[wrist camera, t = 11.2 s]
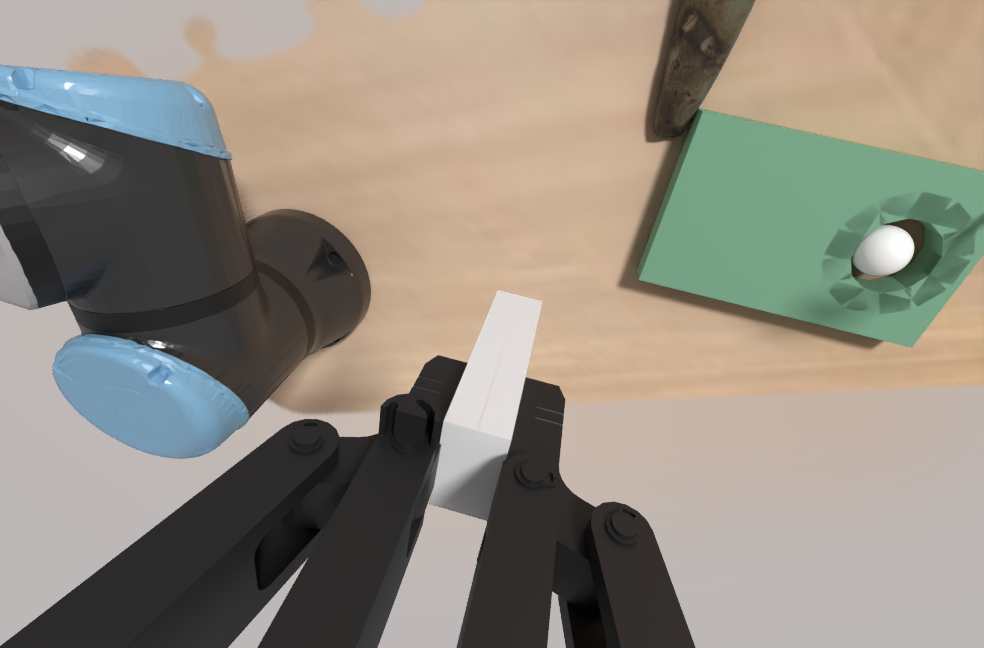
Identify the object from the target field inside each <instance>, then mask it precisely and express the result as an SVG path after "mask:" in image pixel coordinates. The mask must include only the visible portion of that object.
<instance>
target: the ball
mask: <svg viewBox="0 0 984 648" xmlns="http://www.w3.org/2000/svg"><path fill="white" fill-rule="evenodd" d="M913 254H914V242H913V240H912V238H911V236H910V235H909V234H908V233H907V232H906V231H905V230H903V229H901V228H899V227H896V226H892V225H882V226H880V227H879V228H877V229H876V230H874V231H873V232H871V233H870V234H868V235H867V236H866V237H864V238H863V239H862V240H861V242H860V244H859V245H858V247H857V248H856V250H855V252H854V253H853V255H852V256H851V261H852V263H853V264H854V266H855V267H856V268H857V269H858V270H860V271H861V272H863V273H866V274H869V275H874V276H884V275H889V274H893V273H895V272H897V271H899V270H901V269H902V268H904V267H905V266H906V265H907V264H908V263H909V262H910V260H911V258H912V257H913Z"/></svg>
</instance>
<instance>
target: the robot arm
mask: <svg viewBox="0 0 984 648" xmlns="http://www.w3.org/2000/svg"><path fill="white" fill-rule="evenodd" d="M230 160H232V156H231V153H230V152H228V151H227V149H226V146H225V143H224V140H223V137H222V134H221V131H220V127H219V124H218V121H217V117H216V114H215V111H214V108H213V106H212V104H211V103H210V101H209V100H208V98H207V97H206V96H205V95H204V94H203V93H202V92H201V91H199V90H198V89H196V88H195V87H193V86H191V85H189V84H186V83H184V82H179V81H171V80H161V79H151V78H141V77H130V76H120V75H108V74H97V73H87V72H77V71H66V70H65V71H64V70H55V69H44V68H32V67H20V66H9V65H0V301H4V302H6V303H10V304H13V305H16V306H19V307H22V308H25V309H28V310H33V309H38V308H42V307H45V306H49V305H52V304H56V303H60V302H63V301H67V302H68V304H69V306H70V308H71V310H72V312H73V314H74V316H75V318H76V321H77V323H78V325H79V327H80V329H81V332H82V334H81V335H78V336H76V337H74V338H71V339H70V340H68V341H67V342H65V344H64V346H63V348H62V349H61V350H59V351H58V352H57V354H56V357H55V362H54V364H53V374H54V378H55V381H56V383H57V385H58V387H59V389H60V391H61V392H62V394H63V395H64V397H65V398H66V399H67V400H68V402H69V403H70V404H71V405H72V406H73V407H74V408H75V409H76V410H77V411H78V412H79V413H80V414H81V415H82V416H83V417H84V418H86V419H87V420H88V421H89V422H90V423H92V424H93V425H94V426H96V427H97V428H98V429H100V430H101V431H103V432H104V433H106V434H108V435H109V436H111V437H113V438H115V439H116V440H118V441H120V442H122V443H124V444H126V445H128V446H130V447H132V448H135V449H137V450H140V451H143V452H146V453H149V454H153V455H157V456H162V457H168V458H179V459H180V458H181V459H183V458H193V457H198V456H202V455H204V454H207V453H209V452H211V451H212V450H214V449H216V448H217V447H218V446H220V445H221V444H222V443H223V442H224V441H225V440H226V439H227V438H228V437H229V436H230V435H231V434H232V433H234V432H235V431H236V430H238V429H240V428H241V427H242V426H244V425H245V424H246V423H247V421H248V420H249V419H250V417H251V416H252V415H253V414H254V413H255V412H256V411H257V410H258V409H259V408H260V406H261V405H262V404H263V403H264V402H265V401H266V400H267V399H268V398H269V397H270V395H271V394H272V393H273V392H274V391H275V390H276V389H277V388H278V387H279V386H280V384H281V383H282V382H283V381H284V380H285V379H286V378H287V377H288V376H289V374H290V373H291V372H292V371H293V370H294V369H295V368H296V367H297V366H298V365H299V363H300V362H301V361H302V360H303V359H304V358H305V357H306V356H308V355H310V354H312V353H315V352H317V351H318V350H320V349H321V348H325V347H329V346H331V345H334V344H336V343H338V342H340V341H342V340H343V339H345V338H346V337H347V336H349V335H350V334H351V333H352V332H353V331H354V329H355V328H356V327H357V326H358V325H359V324H360V322H361V321H362V320H363V318H364V317H365V315H366V313H367V310H368V307H369V303H370V296H371V288H370V280H369V276H368V272H367V270H366V267H365V264H364V262H363V260H362V258H361V256H360V255H359V253H358V251H357V250H356V249H355V247H354V246H353V245H352V243H351V242H350V241H349V240H348V239H347V238H346V237H345V236H344V235H343V234H342V233H341V232H340V231H339V230H338V229H337V228H335V227H334V226H333V225H331V224H330V223H328V222H327V221H325V220H323V219H321V218H319V217H317V216H315V215H313V214H310V213H307V212H303V211H299V210H292V209H280V210H274V211H270V212H267V213H265V214H262V215H260V216H258V217H256V218H254V219H252V220H251V221H249V222H247V223H246V224H245V220H244V216H243V212H242V208H241V203H240V199H239V195H238V191H237V187H236V183H235V179H234V174H233V170H232V166H231V162H230ZM541 306H542V301H539V300H535V299H531V298H527V297H523V296H519V295H515V294H511V293H507V292H503V291H500V290H498V292H497V294H496V296H495V299H494V301H493V304H492V306H491V308H490V311H489V313H488V316H487V318H486V320H485V323H484V325H483V328H482V330H481V332H480V335H479V337H478V340H477V342H476V344H475V347H474V349H473V352H472V354H471V356H470V359H469V361H468V363H465V362H462V361H458V360H454V359H450V358H447V357H443V356H439V355H438V356H436V357H435V358H433V359H432V360H430V361H429V362H427V363H426V364H425V365H424V367H423V369H422V371H421V373H420V375H419V377H418V378H417V380H416V382H415V384H414V387H412V389H411V391H410V393H409V394H401V395H396V396H394V397H392V398H389V399H387V400H386V401H385V402H384V403H383V404H382V405H381V411H380V423H379V433H378V434H376V435H372V436H368V437H339V435H338V432H337V430H336V429H335V428H334V427H333V426H332V425H331V424H329V423H328V422H324V421H321V420H318V419H304V420H300V421H296V422H292V423H291V424H289V425H287V426H285V427H284V428H282V429H281V430H279V431H278V432H277V433H276V434H274V435H273V436H272V437H270V438H269V439H268V440H266V441H265V442H264V443H263V444H261V445H260V446H259V447H257V448H256V449H255V450H254V451H252V452H251V453H250V454H248V455H247V456H246V457H244V458H243V459H242V460H241V461H239V462H238V463H237V464H235V465H234V466H233V467H232V468H230V469H229V470H228V471H226V472H225V473H224V474H223V475H221V476H220V477H219V478H217V479H216V480H215V481H213V482H212V483H211V484H210V485H208V486H207V487H206V488H204V489H203V490H202V491H201V492H199V493H198V494H197V495H195V496H194V497H193V498H191V499H190V500H189V501H187V502H186V503H185V504H184V505H182V506H181V507H180V508H179V509H177V510H176V511H175V512H173V513H172V514H171V515H169V516H168V517H167V518H165V519H164V520H163V521H162V522H160V523H159V524H158V525H156V526H155V527H154V528H153V529H151V530H150V531H149V532H147V533H146V534H145V535H143V536H142V537H141V538H140V539H138V540H137V541H136V542H134V543H133V544H132V545H131V546H129V547H128V548H127V549H126V550H124V551H123V552H121V553H120V554H119V555H118V556H116V557H115V558H114V559H112V560H111V561H110V562H109V563H107V564H106V565H105V566H103V567H102V568H101V569H99V570H98V571H97V572H96V573H94V574H93V575H92V576H91V577H89V578H88V579H87V580H85V581H84V582H83V583H81V584H80V585H79V586H77V587H76V588H75V589H74V590H72V591H71V592H70V593H68V594H67V595H66V596H65V597H63V598H62V599H61V600H59V601H58V602H57V603H56V604H54V605H53V606H52V607H50V608H49V609H48V610H46V611H45V612H44V613H42V614H41V615H40V616H39V617H37V618H36V619H35V620H33V621H32V622H31V623H30V624H28V625H27V626H26V627H24V628H23V629H22V630H21V631H19V632H18V633H17V634H15V635H14V636H13V637H11V638H10V639H9V640H8V641H6V642H5V643H4V644H2V645H1V646H0V648H228V647H229V645H231V643H232V642H233V641H234V640H235V639H236V638H237V637H238V635H240V633H241V632H242V631H243V630H244V629H245V627H247V626H248V624H249V623H250V622H251V621H252V620H253V619H254V617H256V615H257V614H258V613H259V612H260V611H261V610H262V609H263V607H264V606H265V605H266V604H267V603H268V602H269V601H270V600H271V599H272V597H273V596H274V595H275V594H276V593H277V592H278V591H279V590H280V588H281V587H282V586H283V585H284V584H285V583H286V582H287V581H288V580H289V578H290V577H291V576H292V575H293V574H294V573H295V572H296V571H297V569H298V568H299V567H300V566H301V565H302V564H303V563H304V562H305V561H306V559H307V558H308V557H309V558H308V559H307V561H306V563H305V565H304V567H303V569H302V570H301V572H300V574H299V575H298V577H297V579H296V581H295V583H294V584H293V586H292V588H291V589H290V591H289V593H288V595H287V596H286V599H285V600H284V602H283V604H282V605H281V607H280V609H279V611H278V612H277V614H276V616H275V618H274V619H273V621H272V623H271V625H270V627H269V628H268V630H267V632H266V634H265V636H264V637H263V639H262V641H261V642H260V644H259V646H258V648H377V647H378V645H379V642H380V639H381V636H382V634H383V631H384V628H385V625H386V622H387V620H388V617H389V614H390V612H391V609H392V606H393V604H394V601H395V598H396V596H397V593H398V590H399V587H400V584H401V582H402V579H403V576H404V574H405V571H406V568H407V566H408V563H409V560H410V557H411V555H412V552H413V549H414V546H415V544H416V541H417V538H418V536H419V533H420V530H421V527H422V525H423V519H424V513H425V509H426V506H427V504H428V501H429V499H430V501H429V504H431V505H434V506H438V507H442V508H445V509H448V510H452V511H456V512H459V513H462V514H466V515H469V516H473V517H476V518H479V519H483V520H486V521H487V526H486V529H485V533H484V537H483V540H482V544H481V547H480V551H479V554H478V558H477V565H476V569H475V573H474V577H473V582H472V586H471V590H470V594H469V598H468V602H467V607H466V611H465V615H464V619H463V623H462V628H461V632H460V636H459V640H458V645H457V648H547V641H548V630H549V619H550V608H551V596H552V591H553V592H554V593H556V594H557V595H558V600H559V606H560V612H561V619H562V625H563V631H564V638H565V644H566V648H695V645H694V643H693V640H692V637H691V634H690V631H689V629H688V626H687V623H686V620H685V618H684V615H683V612H682V610H681V607H680V604H679V601H678V598H677V596H676V594H675V590H674V587H673V585H672V582H671V579H670V576H669V574H668V571H667V568H666V565H665V563H664V560H663V557H662V554H661V552H660V549H659V546H658V544H657V541H656V538H655V535H654V532H653V530H652V529H651V527H650V525H649V523H648V522H647V520H646V519H645V518H644V517H643V516H642V515H641V514H640V513H639V512H638V511H636V510H634V509H632V508H631V507H629V506H627V505H625V504H621V503H617V502H607V503H602V504H601V505H599V506H597V507H594V506H592V505H591V504H589V503H587V502H586V501H584V500H582V499H581V498H579V497H578V496H576V495H575V494H573V493H572V492H571V491H570V489H569V488H568V487H566V485H565V483H564V482H563V480H562V478H561V476H560V473H559V458H560V448H561V438H562V425H563V417H564V416H563V414H564V407H565V398H564V396H563V394H562V392H561V390H560V387H559V386H556V385H552V384H549V383H545V382H541V381H537V380H534V379H530V378H526V373H527V368H528V364H529V359H530V355H531V350H532V346H533V341H534V337H535V332H536V328H537V323H538V319H539V315H540V310H541Z"/></svg>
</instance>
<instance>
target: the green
mask: <svg viewBox="0 0 984 648" xmlns="http://www.w3.org/2000/svg"><path fill="white" fill-rule="evenodd" d="M909 218H910V219H914V220H918V221H919V222H920V223H921V224H922V225H923V226H924V245H923V247H922V249H921V250H920V251H919V253H918V254H917V256H916V257H915V259H914V260H913V262H912V263H911V264H910V265H908V266H906V267H905V268H903V269H902V270H900V271H898V272H897V273H895V274H894V275H892V276H889V277H884V278H879V279H874V280H865V279H861V278H856V277H853V276H852V275H851V256H852V255H853V253H854V252H855V250H856V248H857V247H858V245H859V244H860V242H861V240H862V239H863V238H864V237H866V236H867V235H868V234H870V233H871V232H873V231H874V230H876V229H877V228H879V227H880V226H882V225H883V224H886V223H891V222H895V221H900V220H904V219H909ZM983 255H984V171H981V170H976V169H971V168H967V167H962V166H958V165H953V164H949V163H944V162H940V161H935V160H931V159H926V158H922V157H917V156H913V155H908V154H904V153H899V152H895V151H890V150H885V149H881V148H876V147H872V146H867V145H863V144H858V143H854V142H849V141H845V140H840V139H836V138H831V137H827V136H822V135H818V134H813V133H809V132H804V131H800V130H795V129H790V128H786V127H781V126H777V125H772V124H768V123H763V122H759V121H754V120H750V119H745V118H741V117H736V116H732V115H727V114H723V113H718V112H714V111H709V110H704V109H700V108H698V110H697V111H696V113H695V115H694V118H693V120H692V123H691V126H690V128H689V131H688V134H687V136H686V139H685V142H684V144H683V147H682V150H681V152H680V155H679V158H678V161H677V163H676V166H675V169H674V171H673V174H672V177H671V179H670V182H669V185H668V187H667V190H666V193H665V195H664V198H663V201H662V203H661V206H660V209H659V211H658V214H657V217H656V219H655V222H654V225H653V227H652V230H651V233H650V235H649V238H648V241H647V244H646V246H645V249H644V252H643V254H642V257H641V260H640V262H639V265H638V268H637V272H638V278H639V280H641V281H645V282H649V283H653V284H657V285H661V286H665V287H669V288H673V289H677V290H681V291H685V292H690V293H694V294H698V295H702V296H706V297H710V298H714V299H718V300H722V301H726V302H730V303H734V304H738V305H742V306H746V307H750V308H754V309H758V310H762V311H766V312H770V313H774V314H778V315H782V316H786V317H790V318H794V319H798V320H802V321H806V322H810V323H815V324H819V325H823V326H827V327H831V328H835V329H839V330H843V331H847V332H851V333H855V334H859V335H863V336H867V337H871V338H875V339H879V340H883V341H887V342H891V343H895V344H899V345H903V346H907V347H911V348H912V347H913V345H914V344H915V343H916V341H917V340H918V339H919V338H920V336H921V335H922V334H923V332H924V331H925V330H926V329H927V327H928V326H929V325H930V323H931V322H932V321H933V319H934V318H935V317H936V316H937V314H938V313H939V312H940V310H941V309H942V308H943V307H944V305H945V304H946V303H947V301H948V300H949V299H950V297H951V296H952V295H953V294H954V292H955V291H956V290H957V288H958V287H959V286H960V284H961V283H962V282H963V281H964V279H965V278H966V277H967V275H968V274H969V273H970V272H971V270H972V269H973V268H974V266H975V265H976V264H977V262H978V261H979V260H980V259H981V257H982V256H983Z"/></svg>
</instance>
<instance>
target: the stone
mask: <svg viewBox="0 0 984 648" xmlns="http://www.w3.org/2000/svg"><path fill="white" fill-rule="evenodd" d="M754 2H755V0H682V3H681V7H680V10H679V14H678V18H677V21H676V25H675V29H674V33H673V37H672V41H671V45H670V49H669V53H668V57H667V61H666V65H665V69H664V74H663V78H662V82H661V87H660V92H659V96H658V101H657V106H656V113H655V119H654V126H653V128H654V132H655V134H656V136H660V137H675V136H679V135H681V134H682V133H683V131H684V130H685V128H686V127H687V125H688V124H689V122H690V120H691V119H692V117H693V116H694V114H695V113H696V111H697V110H698V108H699V107H700V105H701V103H702V102H703V100H704V98H705V97H706V95H707V93H708V92H709V90H710V88H711V87H712V85H713V83H714V81H715V79H716V78H717V76H718V74H719V72H720V70H721V69H722V67H723V65H724V63H725V61H726V59H727V57H728V55H729V53H730V51H731V49H732V47H733V45H734V43H735V41H736V40H737V38H738V36H739V33H740V31H741V29H742V27H743V25H744V23H745V21H746V19H747V17H748V15H749V13H750V11H751V8H752V6H753V4H754Z"/></svg>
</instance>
